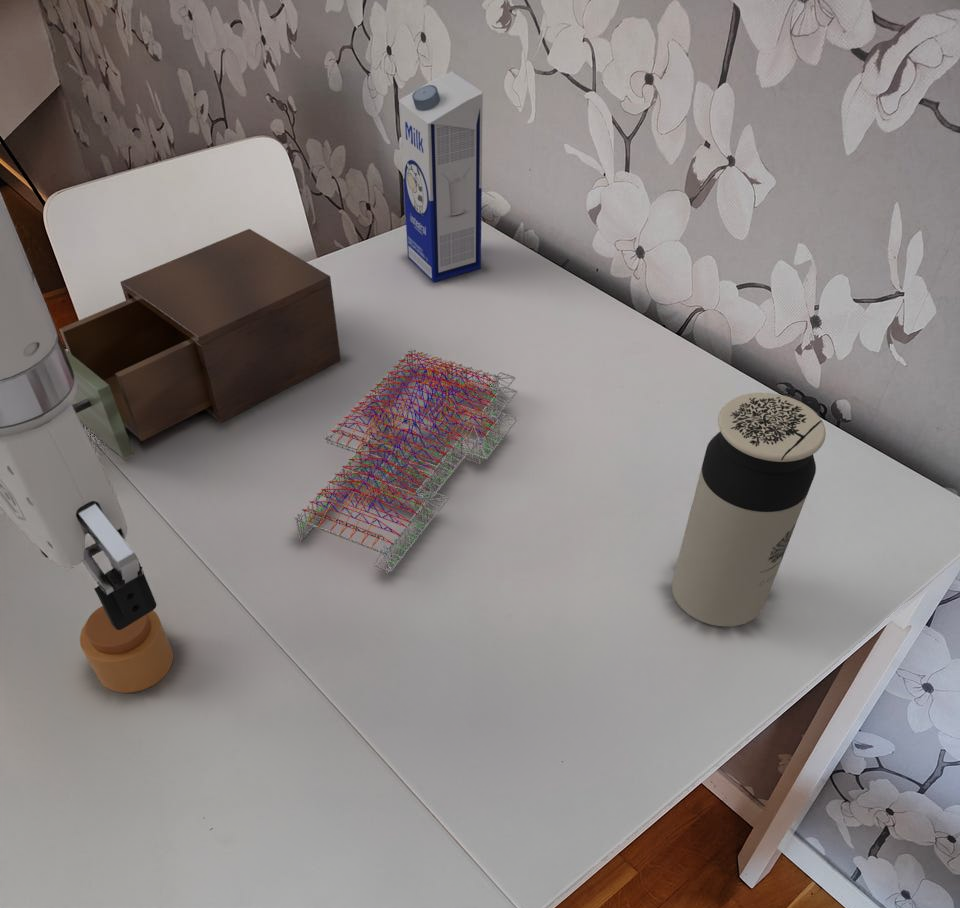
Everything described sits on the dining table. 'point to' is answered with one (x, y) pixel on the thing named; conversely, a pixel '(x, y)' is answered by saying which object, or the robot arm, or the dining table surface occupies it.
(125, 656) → the small lidded canister
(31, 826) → the dining table surface
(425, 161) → the milk carton
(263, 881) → the dining table surface
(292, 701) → the dining table surface
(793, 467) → the travel mug
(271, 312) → the cabinet
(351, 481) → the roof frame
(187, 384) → the drawer
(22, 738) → the dining table surface
